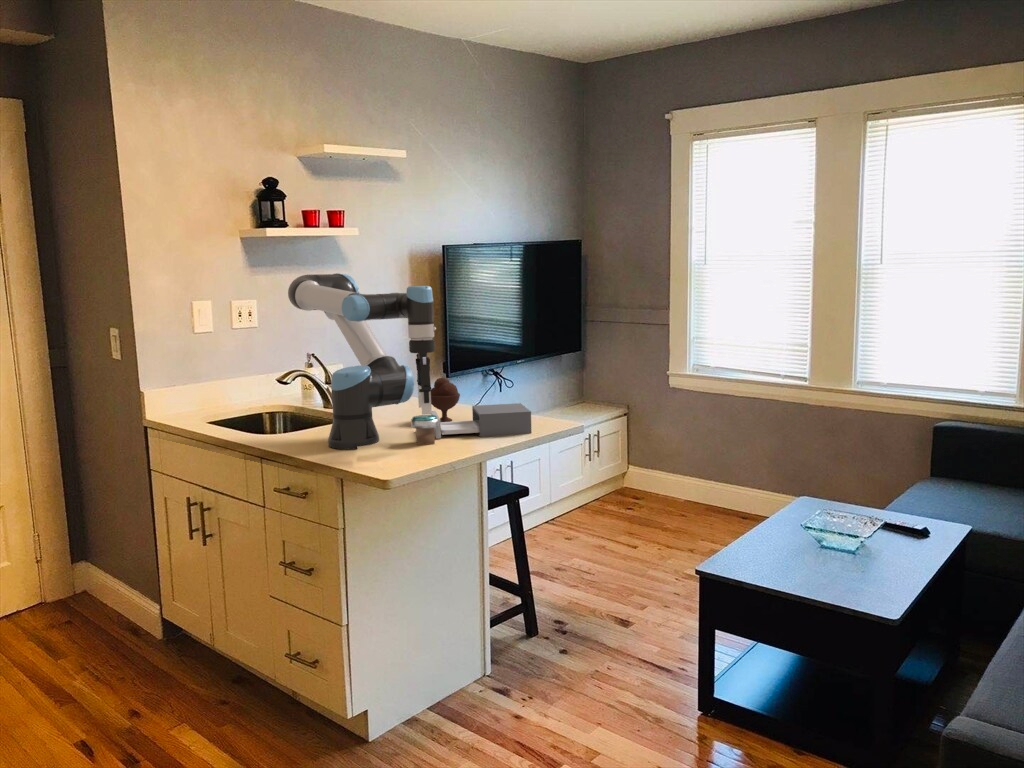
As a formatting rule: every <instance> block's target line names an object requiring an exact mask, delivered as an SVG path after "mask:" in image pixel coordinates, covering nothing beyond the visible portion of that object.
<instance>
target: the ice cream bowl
mask: <svg viewBox="0 0 1024 768" xmlns="http://www.w3.org/2000/svg"><path fill="white" fill-rule="evenodd" d="M460 397H461V394H460V392H459V390H458V388H457V385H455V383H453V382H451V381H450V380H449V379H448V378H446V377H438V378H437V379H436V380H435V381H434V383H433V387H431V406H433V408H435V409H437V410H439V411H441V417H439V418H440V422H453V419H452V418H449V417H448V410H450V409H453V408H454V407H455V406H456V405H457V404H458V402H459V401H460Z"/></svg>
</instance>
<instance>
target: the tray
mask: <svg viewBox="0 0 1024 768" xmlns="http://www.w3.org/2000/svg"><path fill="white" fill-rule="evenodd" d="M430 415H435V416H437V418H438V427H435V428H434V437H435V440H436V439H439V440H440V439H442V436H443V435H458V434H461V435H462V434H474V433H475V434H478V433H479V432H480V425H479V420H474V421H473V420H461V421H460V420H458V421H451V422H440V418H441V417H440V415H439V414H438V413H437V410H432V414H430Z"/></svg>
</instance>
